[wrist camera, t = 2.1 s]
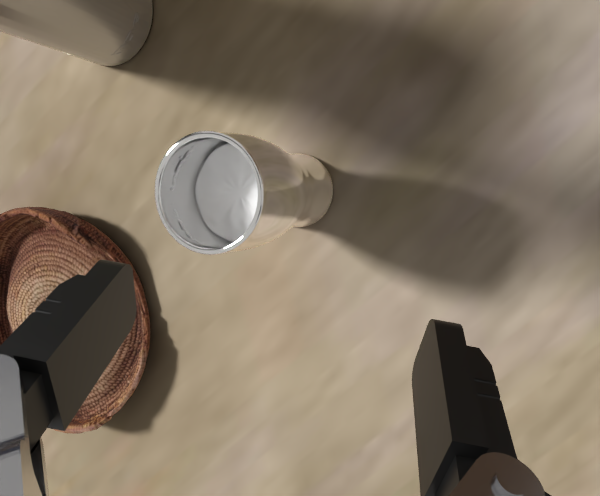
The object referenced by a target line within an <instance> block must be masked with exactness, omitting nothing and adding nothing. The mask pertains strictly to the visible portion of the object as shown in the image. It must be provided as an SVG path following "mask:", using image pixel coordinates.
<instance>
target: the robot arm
mask: <svg viewBox="0 0 600 496" xmlns="http://www.w3.org/2000/svg"><path fill="white" fill-rule="evenodd" d="M152 15H153V7H152V0H0V31H1V32H4V33H7V34H10V35H13V36H16V37H19V38H22V39H25V40H28V41H31V42H34V43H37V44H40V45H43V46H46V47H49V48H52V49H55V50H58V51H61V52H63V53H66V54H69V55H72V56H75V57H78V58H81V59H84V60H87V61H90V62H93V63H96V64H100V65H103V66H115V65H120V64H122V63H124V62H126V61H128V60H130V59H131V58H132V57H133V56H134V55H135V54H137V52H138V51H139V50H140V49H141V47H142V46H143V44H144V42H145V40H146V38H147V36H148V34H149V30H150V27H151V23H152ZM136 310H137V308H136V297H135V287H134V278H133V270H132V267H131V265H129V264H125V263H119V262H114V261H108V260H99V261H98V262H97V263H96V264H95V265H94V266H93V267H92V268H91V269H90V271H89V272H88V273H87V274H86V275H85V276H84V275H79V274H77V275H76V276H74V277H72V278H70V279H68V280H66V281H65V282H63V283H61V284H59V285H58V286H57V287H56V288H55V289H54V290H53V291H52V292H51V293H50V294H49V296H48V297H47V298H46V301H43V302H42V303H41V304H40V305H39V306H38V307H37V308H36V309H35V312H32V313H31V314H30V315H29V316H28V317H27V318H26V319H25V321H24V322H23V323H22V324H21V325H20V326H19V327H18V328H17V329H16V330H15V331H14V332H13V333H12V334H11V335H10V336H9V337H8V338H7V339H6V340H5V341H4V342H3V343H2V344H1V346H0V496H49V491H48V483H47V474H46V465H45V457H44V448H43V442H42V439H41V436H42V434H43V433H44V431H45V430H46V428H51V429H56V430H61V431H65V430H66V428H67V427H68V425H69V424H70V422H71V421H72V419H73V418H74V416H75V415H76V413H77V412H78V410H79V409H80V407H81V406H82V404H83V402H84V401H85V399H86V398H87V396H88V395H89V393H90V392H91V390H92V389H93V387H94V386H95V384H96V383H97V381H98V380H99V378H100V376H101V375H102V373H103V372H104V370H105V369H106V367H107V366H108V364H109V363H110V361H111V360H112V358H113V357H114V355H115V354H116V352H117V351H118V349H119V347H120V346H121V344H122V343H123V341H124V340H125V338H126V337H127V335H128V334H129V332H130V331H131V329H132V327H133V324H134V321H135V318H136ZM412 389H413V402H414V415H415V428H416V441H417V454H418V467H419V480H420V493H421V496H551V495H549V494H548V493H546V492H545V491H544V489H543V487H542V485H541V483H540V481H539V480H538V478H537V477H536V476H535V474H534V473H533V472H532V471H531V470H530V469H529V468H528V467H527V466H526V465H524V464H523V463H522V462H520V461H519V460H518V459H517V456H516V453H515V450H514V446H513V442H512V439H511V435H510V431H509V427H508V424H507V420H506V416H505V413H504V409H503V405H502V402H501V401H500V394H499V391H498V387H497V386H496V380H495V376H494V372H493V369H492V365H491V364H490V362H489V361H488V359H487V358H486V357H485V355H484V354H483V353H482V351H481V350H480V349H479V348H476V347H471V346H467V345H466V341H465V336H464V332H463V328H462V326H461V325H460V324H456V323H451V322H445V321H440V320H434V319H431V320H430V321H429V323H428V326H427V328H426V331H425V334H424V337H423V339H422V342H421V345H420V348H419V350H418V353H417V356H416V359H415V362H414V366H413V373H412Z"/></svg>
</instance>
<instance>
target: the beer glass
mask: <svg viewBox="0 0 600 496" xmlns="http://www.w3.org/2000/svg"><path fill="white" fill-rule="evenodd" d="M332 197H333V184H332V180H331V177H330V174H329V172H328V170H327V169H326V167H325V166H324V165H323V164H322V163H321V162H320V161H319V160H317V159H316V158H314V157H312V156H310V155H306V154H300V153H295V154H289V153H287V152H286V151H285V150H283V149H282V148H280V147H279V146H277V145H275V144H273V143H272V142H270V141H267V140H264V139H261V138H258V137H255V136H251V135H245V134H239V133H227V132H216V131H199V132H195V133H192V134H189V135H187V136H185V137H183V138H181V139H180V140H178V141H177V142H176V143H175V144H174V145H173V146H172V147H171V148H170V149H169V150H168V151H167V153H166V154H165V156H164V157H163V159H162V161H161V163H160V166H159V168H158V172H157V175H156V181H155V200H156V206H157V210H158V213H159V216H160V218H161V220H162V222H163V224H164V226H165V228H166V229H167V231H168V232H169V233H170V235H171V236H172V237H173V238H174V239H175V240H176V241H177V242H179V243H180V244H181V245H183V246H184V247H186V248H187V249H189V250H192V251H194V252H197V253H201V254H208V255H215V254H222V253H226V252H234V251H241V250H247V249H251V248H255V247H259V246H261V245H264V244H266V243H269V242H271V241H273V240H275V239H277V238H278V237H280V236H281V235H283V234H284V233H286V232H287V231H288V230H289V229H290V228H292V227H305V226H309V225H311V224H313V223H315V222H317V221H318V220H320V219H321V218H322V217H323V216H324V215H325V213H326V212H327V210H328V209H329V207H330V204H331V201H332Z"/></svg>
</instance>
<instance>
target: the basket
mask: <svg viewBox="0 0 600 496" xmlns="http://www.w3.org/2000/svg"><path fill="white" fill-rule="evenodd" d="M99 260H108V261H114V262H119V263H125V264H129V265H131V267H132V270H133V278H134V287H135V297H136V308H137V310H136V318H135V321H134V324H133V327H132V329H131V331H130V332H129V334H128V335H127V337H126V338H125V340H124V341H123V343H122V344H121V346H120V347H119V349H118V351H117V352H116V354H115V355H114V357H113V358H112V360H111V361H110V363H109V364H108V366H107V367H106V369H105V370H104V372H103V373H102V375H101V376H100V378H99V380H98V381H97V383H96V384H95V386H94V387H93V389H92V390H91V392H90V393H89V395H88V396H87V398H86V399H85V401H84V402H83V404H82V406H81V407H80V409H79V410H78V412H77V413H76V415H75V416H74V418H73V419H72V421H71V422H70V424H69V425H68V427H67V428H66V430H65V431H61V430H56V429H54V430H56V431H60V432H64V433H83V432H85V431H92V430H96V429H98V428H99V427H100V426H102V425H103V424H105V423H106V422H108V421H109V420H111V418H112V417H113V415H114V414H116V413H117V412H118V411H119V410H120V409H121V408H122V407H123V406H124V404H125V403H126V402H127V400H128V399H129V398H130V397H131V396H132V394H133V393H134V391H135V390H136V388H137V386H138V384H139V382H140V380H141V377H142V375H143V372H144V370H145V365H146V360H147V356H148V351H149V346H150V318H149V311H148V306H147V302H146V298H145V293H144V290H143V287H142V284H141V281H140V279H139V277H138V274H137V273H136V271H135V269H134V267H133V265H132V263H131V262H130V261H129V259H128V258H127V257H126V255H125V254H124V253H123V252H122V251H121V250H120V248H119V247H118V246H117V245H116V244H115V243H114V242H113V241H112V240H111V239H110V238H109V237H108V236H106V235H105V234H104V233H103V232H101V231H100V230H99V229H98V228H96V227H95V226H93V225H92V224H90V223H88V222H87V221H85V220H83V219H80V218H78V217H76V216H74V215H72V214H70V213H68V212H65V211H58V210H55V209H49V208H44V207H24V208H16V209H12V210H9V211H7V212H4V213H2V214H0V346H1V344H2V343H3V342H4V341H5V340H6V339H7V338H8V337H9V336H10V335H11V334H12V333H13V332H14V331H15V330H16V329H17V328H18V327H19V326H20V325H21V324H22V323H23V322H24V321H25V319H26V318H27V317H28V316H29V315H30V314H31V313H32V312H35V309H36V308H37V307H38V306H39V305H40V304H41V303H42V302H43V301H46V298H47V297H48V296H49V294H50V293H51V292H52V291H53V290H54V289H55V288H56V287H57V286H58V285H59V284H61V283H63V282H65V281H66V280H68V279H70V278H72V277H74V276H76V275H77V274H79V275H84V276H85V275H86V274H87V273H88V272H89V271H90V269H91V268H92V267H93V266H94V265H95V264H96V263H97V262H98V261H99Z"/></svg>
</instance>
